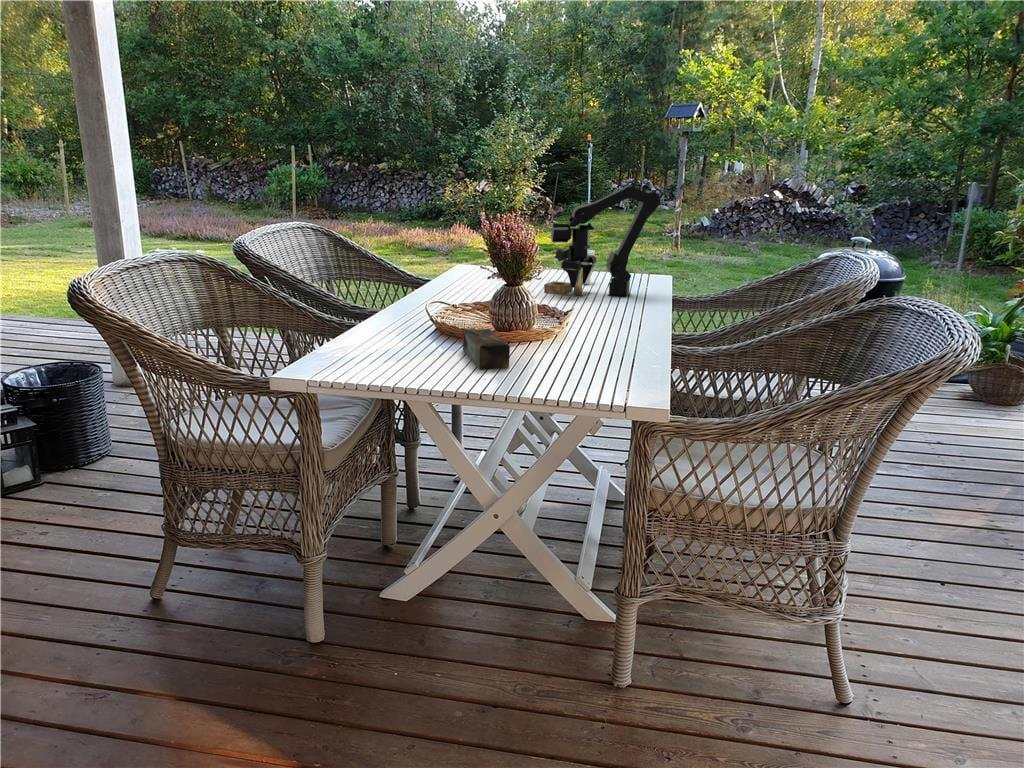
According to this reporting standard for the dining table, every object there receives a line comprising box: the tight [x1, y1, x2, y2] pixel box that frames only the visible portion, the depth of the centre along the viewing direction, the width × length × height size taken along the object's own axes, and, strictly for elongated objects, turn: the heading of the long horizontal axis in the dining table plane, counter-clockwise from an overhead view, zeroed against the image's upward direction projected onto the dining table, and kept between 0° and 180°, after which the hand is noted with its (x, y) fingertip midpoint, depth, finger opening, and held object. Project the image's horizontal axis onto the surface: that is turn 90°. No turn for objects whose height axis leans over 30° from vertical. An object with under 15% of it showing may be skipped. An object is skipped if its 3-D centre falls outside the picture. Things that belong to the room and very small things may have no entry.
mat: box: [563, 292, 590, 299], centre depth 275 cm, size 7×7×1 cm
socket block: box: [543, 280, 574, 296], centre depth 279 cm, size 8×8×4 cm
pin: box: [573, 267, 583, 296], centre depth 273 cm, size 3×3×10 cm
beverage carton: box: [462, 327, 511, 370], centre depth 191 cm, size 8×19×7 cm, turn 16°
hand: (578, 285), depth 273 cm, fingers open, 9 cm apart
